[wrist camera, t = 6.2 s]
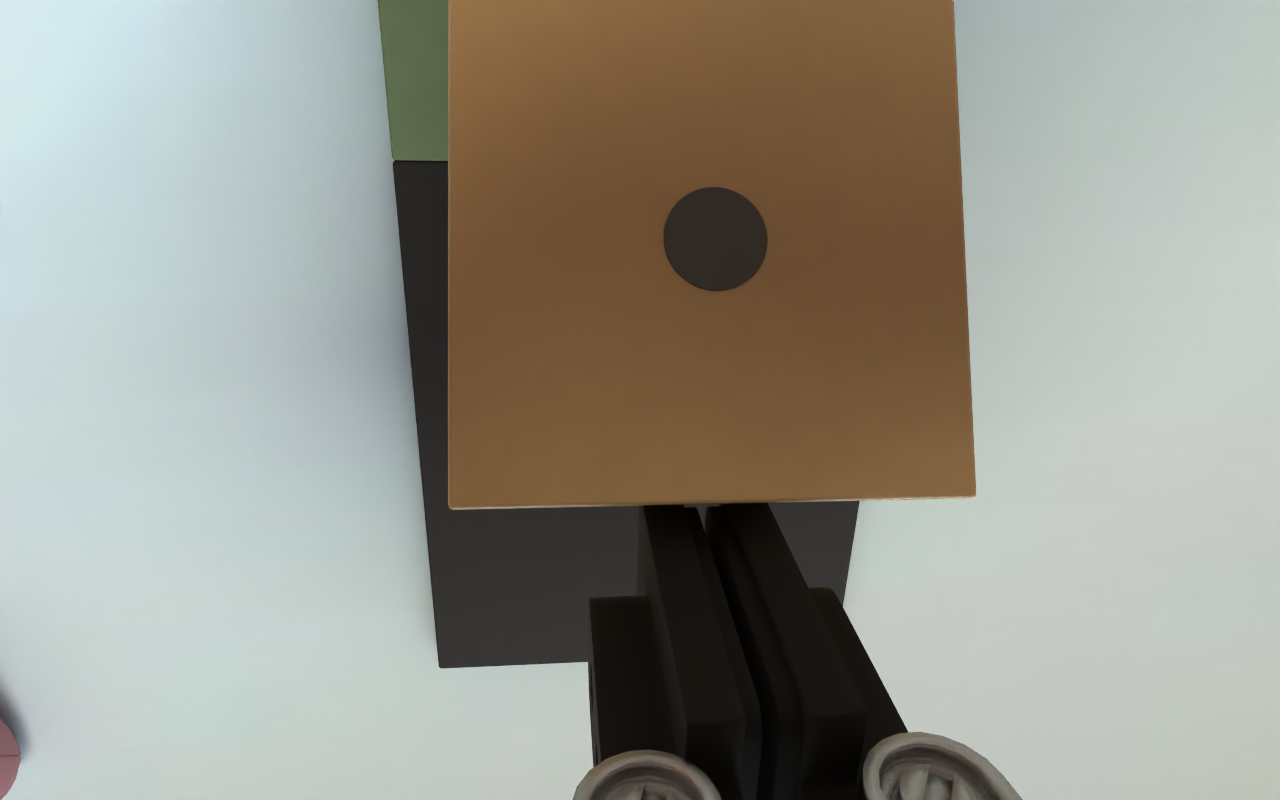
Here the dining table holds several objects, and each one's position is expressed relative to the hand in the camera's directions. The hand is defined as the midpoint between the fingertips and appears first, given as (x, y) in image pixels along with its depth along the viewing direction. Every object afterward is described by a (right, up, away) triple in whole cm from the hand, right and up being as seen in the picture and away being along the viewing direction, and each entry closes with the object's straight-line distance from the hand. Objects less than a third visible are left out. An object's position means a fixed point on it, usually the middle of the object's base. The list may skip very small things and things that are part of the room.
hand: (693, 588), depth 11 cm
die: (-1, +4, +4) cm, 6 cm away
